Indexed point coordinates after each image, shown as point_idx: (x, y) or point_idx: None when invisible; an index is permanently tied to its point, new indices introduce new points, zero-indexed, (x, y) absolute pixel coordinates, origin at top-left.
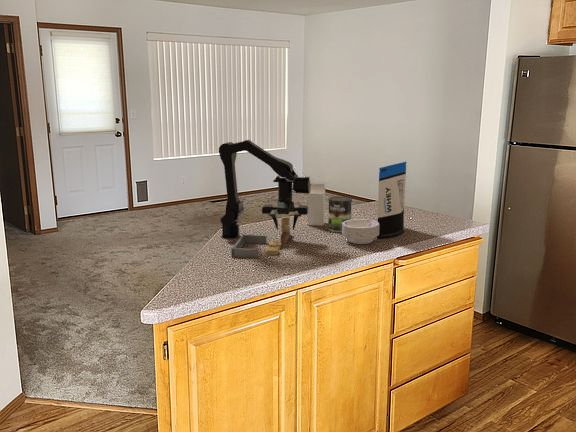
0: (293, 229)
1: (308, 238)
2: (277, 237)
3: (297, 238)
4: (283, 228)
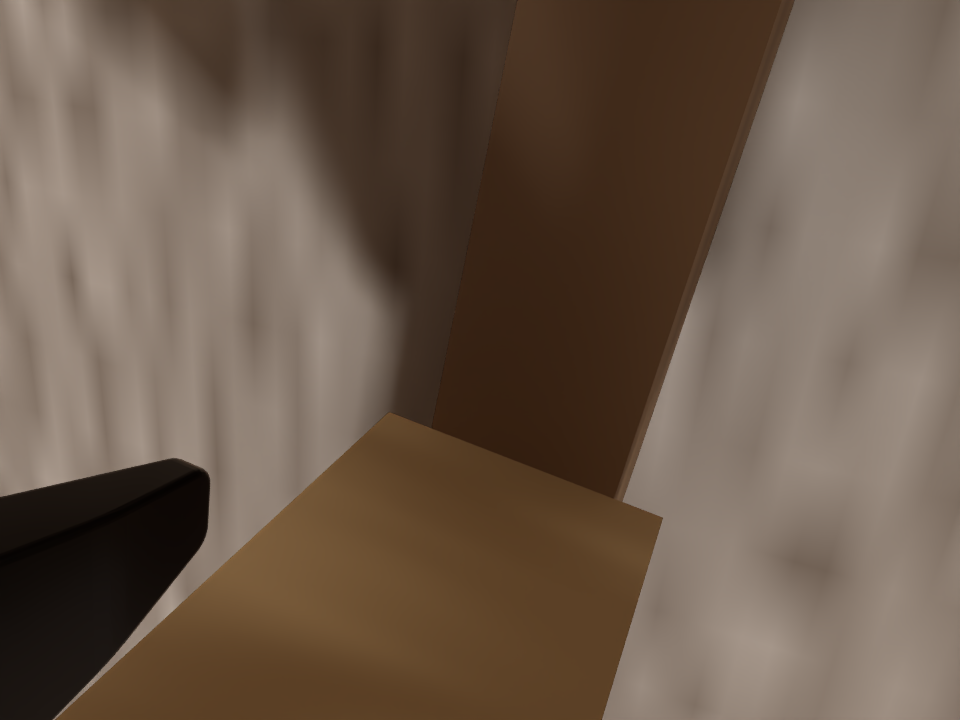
0: (169, 464)
1: (61, 346)
2: (773, 642)
3: (275, 408)
4: (529, 582)
